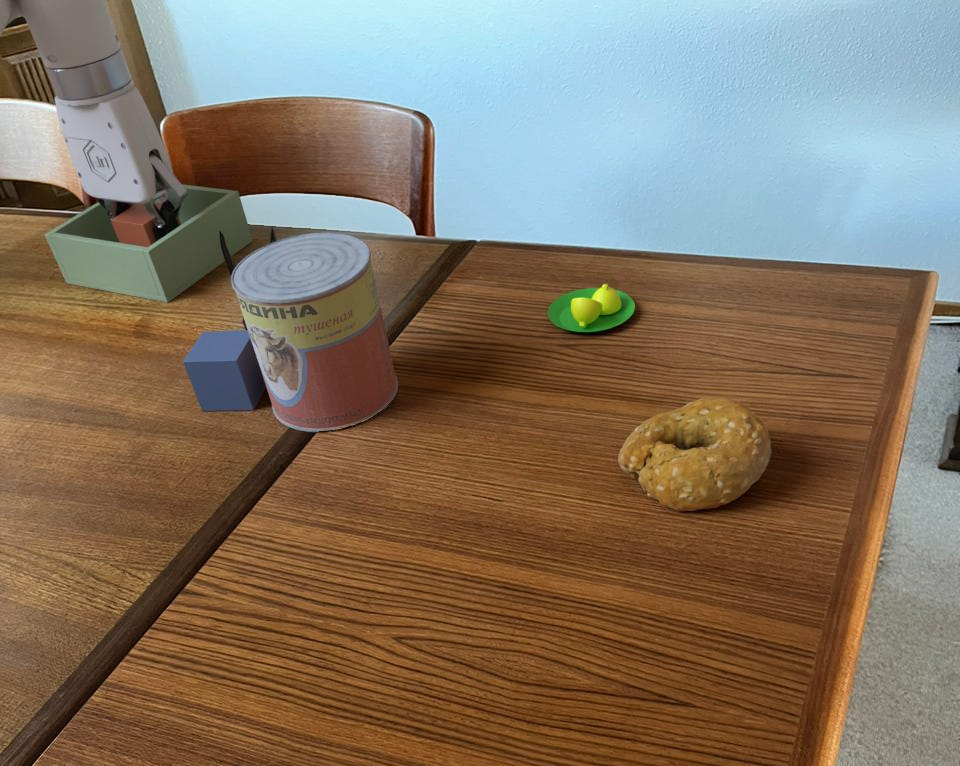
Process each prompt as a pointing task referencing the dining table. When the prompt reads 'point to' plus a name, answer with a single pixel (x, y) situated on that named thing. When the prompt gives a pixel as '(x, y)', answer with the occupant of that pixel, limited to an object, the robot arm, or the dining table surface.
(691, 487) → the bagel
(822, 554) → the dining table surface
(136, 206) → the terracotta block
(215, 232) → the bin
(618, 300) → the green plate with lemons
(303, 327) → the canned food
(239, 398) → the slate-blue block
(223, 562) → the dining table surface
